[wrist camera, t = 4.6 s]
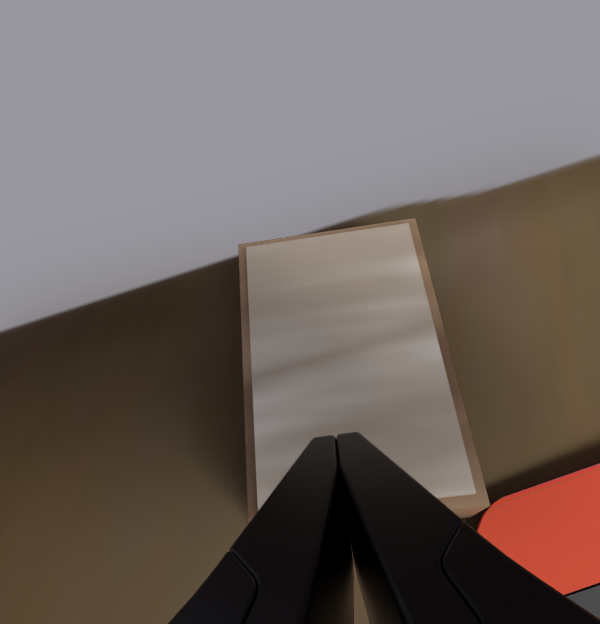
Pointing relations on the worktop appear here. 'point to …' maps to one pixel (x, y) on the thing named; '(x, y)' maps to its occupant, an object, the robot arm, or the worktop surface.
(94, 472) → the worktop surface
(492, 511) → the gaming console
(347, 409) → the tan wooden block
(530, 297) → the worktop surface
